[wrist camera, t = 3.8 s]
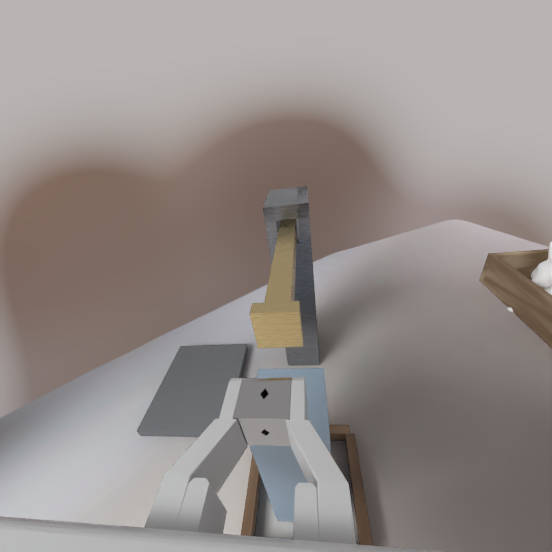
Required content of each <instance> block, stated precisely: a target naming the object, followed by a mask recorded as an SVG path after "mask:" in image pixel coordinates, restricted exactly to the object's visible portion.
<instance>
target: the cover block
mask: <svg viewBox="0 0 552 552" xmlns="http://www.w3.org/2000/svg"><path fill="white" fill-rule="evenodd" d="M283 377H292V378H300V377H305V379H306V389H307V399H308V420H310V422H311V423H312V425H313V427H314V428H315V430H316V431H317V433H318V435H319V436H320V438H321V440H322V441H323V443H324V444H325V446H326V448H327V449H328V451H329V453H330V454H331V446H330V432H329V420H328V409H327V397H326V386H325V374H324V368H308V369H258V374H257V378H283ZM249 446H250V449H251V451H252V454H253V457H254V459H255V462H256V465H257V467H258V470H259V473H260V475H261V478H262V481H263V484H264V486H265V489H266V492H267V494H268V497H269V500H270V502H271V505H272V508H273V510H274V513H275V516H276V518H277V521H286V522H294V500H295V487H296V485H297V484H298V483H307V480H306V478H305V476H304V474H303V472H302V470H301V468H300V466H299V463H298V461H297V459H296V457H295V455H294V453H293V451H292V448H291V446H274V445H249Z"/></svg>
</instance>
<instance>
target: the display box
mask: <svg viewBox="0 0 552 552" xmlns="http://www.w3.org/2000/svg"><path fill="white" fill-rule="evenodd" d="M548 252H549V249H545V250H532V251H518V252H505V253H491V254H488V256H487V259H486V262H485V265H484V268H483V271H482V274H481V277H480V281H481V282H482V283H483V284H484V285H485V286H486V287H487V288H488V289H489V290H490V291H492V292H493V293H494V294H495V295H496V296H497V297H498V298H499V299H500V300H501V301H502V302H503V303H504V304H505V305H506V306H508V307H511V308H512V309H513V312H514V313H515V314H516V315H517V316H518V317H519V318H520V319H521V320H522V321H523V322H525V323H526V324H527V325H528V326H529V327H530V328H531V329H532V330H533V331H534V332H535V333H536V334H537V335H538V336H539V337H540V338H542V339H543V340H544V341H545V342H546V343H547V344H548V345H549V346H550V347H551V348H552V295H551V294H549V293H548V292H546V291H545V290H544V289H542V288H541V287H540V286H538V285H537V284H535V283H534V282H533V281H531V280H532V278H531V274H532V272H533V271H534V270H535V269H536V268H537V266H538V264H540V263H541V262H544V261H546V260H547V259H548Z"/></svg>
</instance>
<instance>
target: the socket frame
mask: <svg viewBox="0 0 552 552" xmlns="http://www.w3.org/2000/svg"><path fill="white" fill-rule="evenodd" d="M329 432H330V440H346V447H347V455H348V462H349V470H350V477H351V485H352V492H353V500H354V507H355V515H356V522H357V530H358V537H359V544H360V545H372V539H371V533H370V527H369V521H368V515H367V509H366V503H365V496H364V490H363V484H362V478H361V472H360V466H359V460H358V454H357V448H356V442H355V435H354V434H350V431H349V425H329ZM260 482H261V475H260V473H259V470H258V467H257V465H256V462H255V459H254V457H253V454H252V461H251V468H250V475H249V482H248V489H247V496H246V503H245V509H244V516H243V523H242V530H241V535H244V536H254V535H255V526H256V518H257V509H258V500H259V491H260ZM372 546H373V545H372Z"/></svg>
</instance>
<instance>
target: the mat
mask: <svg viewBox="0 0 552 552" xmlns="http://www.w3.org/2000/svg"><path fill="white" fill-rule="evenodd" d="M247 351H248V347H247V344H234V345H203V346H181V347H180V349H179V350H178V352H177V354H176V356H175V358H174V360H173V362H172V364H171V366H170V368H169V370H168V372H167V374H166V376H165V377H164V379H163V381H162V383H161V385H160V387H159V389H158V391H157V393H156V395H155V397H154V399H153V401H152V403H151V404H150V406H149V408H148V410H147V412H146V414H145V416H144V418H143V420H142V422H141V424H140V426H139V428H138V429H137V432H138V433H139V434H140V436H181V437H199V436H200V435H201V434H202V433H203V432H204V431H205V430H206V428H207V427H208V426H209V425H210V424H211V423H212V422H213V421H214V420H215V419H219V417H220V413H221V409H222V406H223V402H224V398H225V395H226V391H227V387H228V384H229V381H230V380H231V378H241V377H242V373H243V369H244V364H245V360H246V356H247Z"/></svg>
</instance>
